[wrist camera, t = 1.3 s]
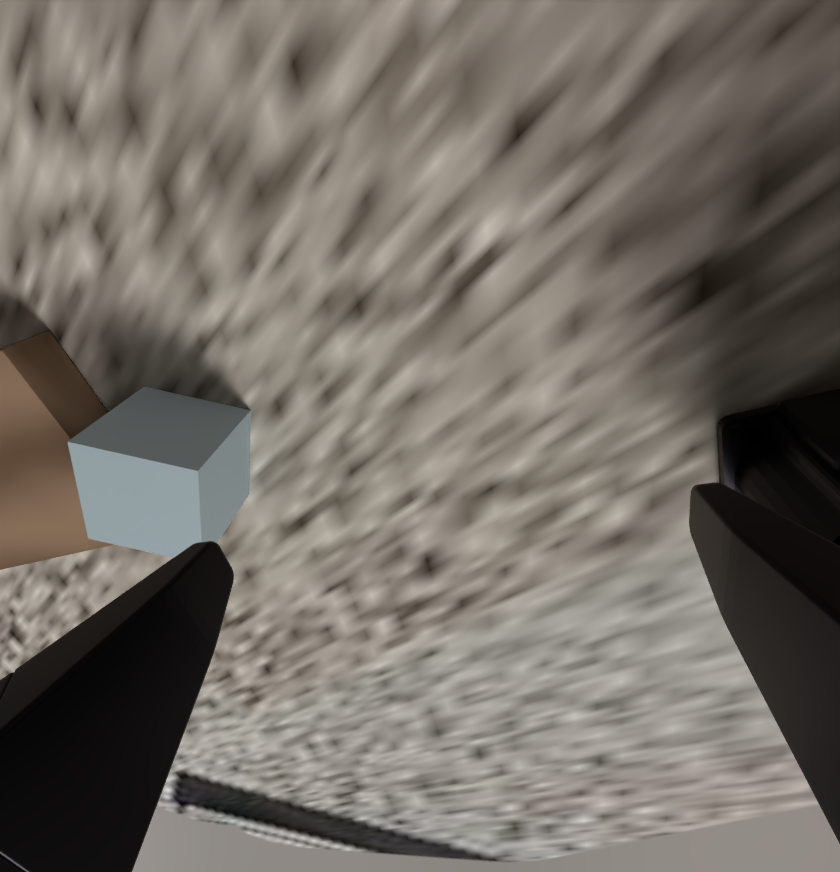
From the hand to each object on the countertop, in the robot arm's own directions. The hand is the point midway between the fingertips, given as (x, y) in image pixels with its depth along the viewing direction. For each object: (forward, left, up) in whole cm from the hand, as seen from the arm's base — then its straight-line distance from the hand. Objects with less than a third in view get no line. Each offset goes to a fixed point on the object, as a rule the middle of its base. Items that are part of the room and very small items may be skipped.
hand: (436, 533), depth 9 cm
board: (0, +22, -12) cm, 25 cm away
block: (-2, +14, -12) cm, 19 cm away
